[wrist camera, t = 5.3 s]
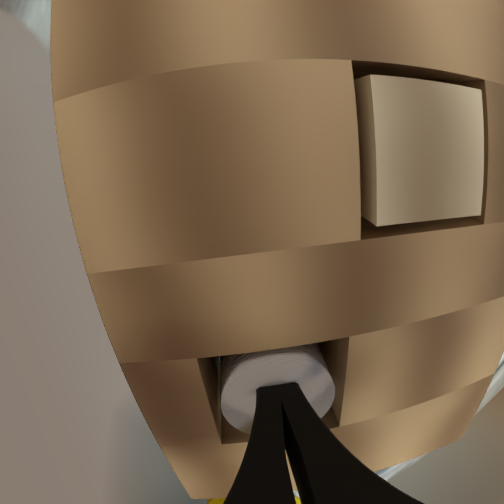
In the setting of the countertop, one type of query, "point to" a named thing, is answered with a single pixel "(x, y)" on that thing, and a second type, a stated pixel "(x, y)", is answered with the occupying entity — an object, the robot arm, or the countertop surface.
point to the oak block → (276, 213)
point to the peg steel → (273, 380)
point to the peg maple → (418, 149)
